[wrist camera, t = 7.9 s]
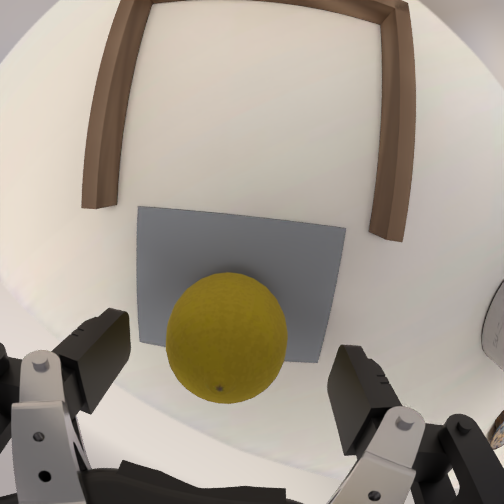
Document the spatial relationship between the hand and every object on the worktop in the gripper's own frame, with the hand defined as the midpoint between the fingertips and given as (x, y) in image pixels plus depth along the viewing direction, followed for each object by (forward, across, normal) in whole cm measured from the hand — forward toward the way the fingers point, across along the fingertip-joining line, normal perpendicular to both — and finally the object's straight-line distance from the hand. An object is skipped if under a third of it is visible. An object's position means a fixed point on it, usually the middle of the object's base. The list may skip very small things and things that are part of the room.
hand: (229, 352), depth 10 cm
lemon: (+7, 0, +1) cm, 7 cm away
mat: (+7, 0, 0) cm, 7 cm away
